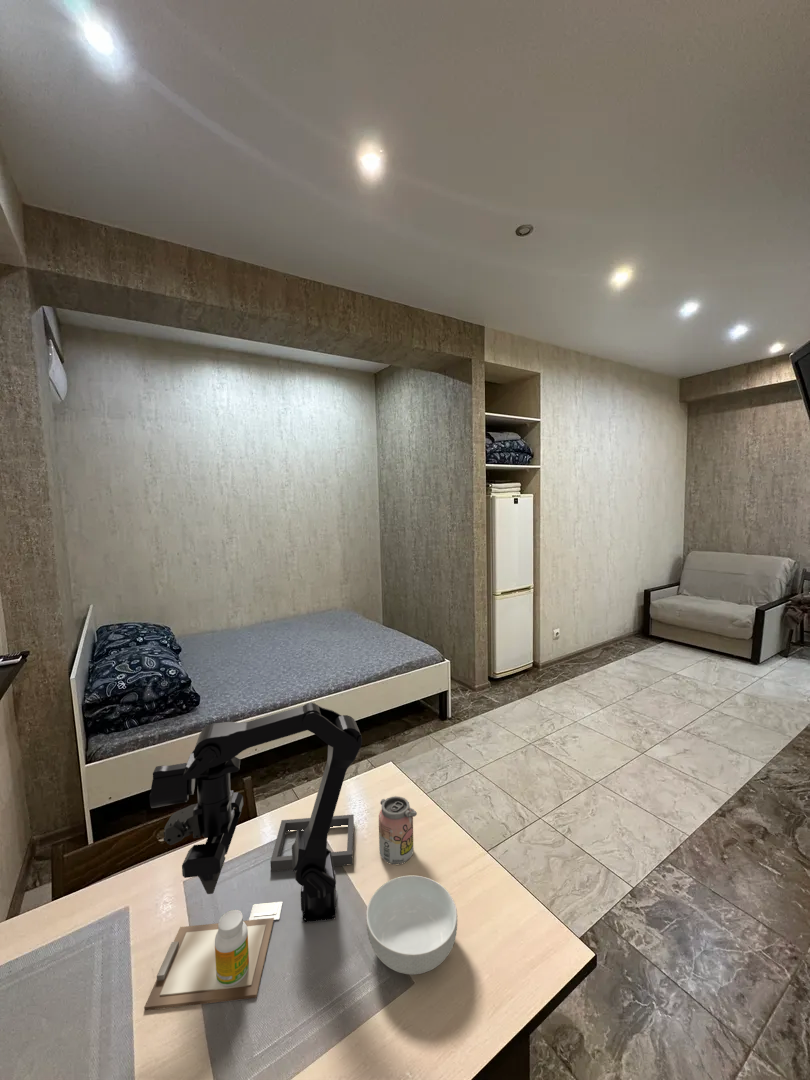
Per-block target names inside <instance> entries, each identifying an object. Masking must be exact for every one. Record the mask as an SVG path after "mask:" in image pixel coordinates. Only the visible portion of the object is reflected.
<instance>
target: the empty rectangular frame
mask: <svg viewBox="0 0 810 1080" xmlns="http://www.w3.org/2000/svg"><path fill="white" fill-rule="evenodd" d="M354 817H355V815H354V813H352V814H344V815H343V814H342V815H333V818H332V822H331V825H330V827H333V826H341V825H348V827H347V840H346V841H347V842H346V845H347V846H346V850H342V851H341V850H340V851H331V855H332V861H333V867H341V866H348V865H347V864H352V865H353V858H352V856H353V855H354V854H353V853H354V852H353V851H354V831H353V827H354V826H355V822H354ZM310 818H311V817H304V818H293V819H290V818H289V819H282V820H281V822H280V825H279V828H278V832H277V836H276V840H275V843H274V847H273V850H272V854H271V858H270V872H271V873H272V872H274V873H275V872H284V871H293V862H292V855H282V856H281V854H282V849H283V845H284V842H285V837H286V834H285V833H287V832H286V831H288V830H289V831H290V830H302V829H303V830H305V829H306V827H307V826H308V824H309V821H310ZM354 828H355V827H354Z"/></svg>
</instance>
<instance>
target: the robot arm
mask: <svg viewBox="0 0 810 1080" xmlns="http://www.w3.org/2000/svg"><path fill="white" fill-rule="evenodd" d="M357 724H358V723H357V722H356V720H355V718H353V717H352V716H351V715H348V714H347V715H346V714H345V715H344V714H343V715H342V714H339V713H338V712H336V711H334V710H332V709H329V708H325V707H322V706H320V705H318V704H316V703H314V702H308V703H305V704H304V705H302V706H298V707H295V708H291V709H288V710H284V711H281V712H277V713H274V714H271V715H267V716H263V717H260V718H256V719H252V720H249V721H246V722H244V721H243V722H237V721H223V722H217V723H216V722H215V723H210V724H209V725H206V726H205V727H203V729H202V730H201V732H200V733H199V735H198V737H197V739H196V740H197V741H196V744H195V746H194V748H193V750H192V752H190V755H189V757H188V759H187V762H183V763H176V764H172V765H171V764H170V765H159V766H157V765H156V766H155V768H154V770H153V772H152V780H151V787H150V788H151V789H150V794H149V797H148V799H149V806H150V808H151V809H155V808H160V807H161V808H162V807H165V806H166V807H167V806H171V805H176V804H182V803H183V804H184V803H187V802H188V801H189V798H190V797H189V796H191V795H194V794H195V793H194V792H195V790H196V789H195V787H196V786H197V787H196V788H197V803H194V804H191V805H188V806H186V807H184V808H181V809H179V810H177V811H175V812H174V813H173V814H171V816H170V817H169V819H168V821H167V822H166V824H165V826H164V828H163V829H164V831H163V841H164V842H166V843H167V845H169V846H172V845H175V844H176V843H177V844H178V843H179V842H181V841H183V840H184V838H186V837H189V836H191V835H192V839H199V838H201V836H202V837H203V838H205V839H206V842H205V843H200V844H194V845H192V846H191V847H190V848H189V849H188V852H187V853H186V856H185V858H184V860H183V862H182V865H181V872H182V873H181V875H182V877H183V878H186V879H187V878H188V879H189V878H196V877H198V879H199V880H200V882H201V884H202V886H203V888H204V890H205V893H206V894H207V895H211V894H214V892H215V889H216V887H217V883H218V881H219V879H220V875H221V873H222V869H223V867H224V864H225V861H226V856H225V855H227V854H228V851H229V848H230V845H231V844H232V843H231V842H232V839H233V836H234V833H235V831H236V828H237V825H238V823H239V819H240V816H241V814H242V809H243V806H244V795H243V794H241V793H240V792H239V791H238V792H234V790H231V774H232V773H237V772H239V771H240V765H241V758H238V757H237V756H238V755H239V754H241V753H242V752H244V751H246V750H248V749H250V748H253V747H256V746H259V745H264V744H266V743H269V742H273V741H277V740H279V739H282V738H286V737H290V736H293V735H296V734H299V733H302V732H306V731H308V732H309V733H312V734H314V735H315V736H317V737H318V738H319V739H320V740H322V741H323V742H324V743H325V744H326V745H327V759H326V764H325V767H324V770H323V774H322V776H321V781H320V785H319V787H318V792H317V794H316V798H315V800H314V805H313V808H312V812H311V816H310V817H309V818H310V821H309V824H308V826H307V827H306V829H305V830H304V831H301V830H297V832H296V835H295V839H294V842H293V844H292V845H291V856H292V862H293V870H292V872H294V878H295V881H296V882H297V884H298V885H300V886H301V887H300V888H301V889H300V911H301V912H303V913H302V923H310V922H311V923H312V922H322V921H331V920H332V921H333V920H334V919H336V916H337V915H336V913H337V904H338V903H337V902H338V901H337V900H338V890H337V880H336V879H337V878H336V870H335V869H334V868H335V866H333V861H332V855H331V852H332V851H331V850H330V849H329V848H327V847H328V837H329V836H328V835H329V832H330V830H331V829H330V825H331V822H332V818H333V816H335V811H336V807H337V805H338V801H339V798H340V793H341V791H342V788H343V787H342V786H343V783H344V780H345V777H346V773H347V770H348V769H349V767H351V766H352V764H353V763H354V761H356V758H357V756H358V754H359V752H360V750H361V747H362V745H363V738H362V734H361V732H360V729H359V727H358V725H357Z"/></svg>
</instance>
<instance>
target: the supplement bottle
mask: <svg viewBox="0 0 810 1080" xmlns="http://www.w3.org/2000/svg"><path fill="white" fill-rule="evenodd" d="M243 917H244V916H243V913H242V911H240V910H238V909H231V910H229V911H226V912H225V913H224V914H222V915H221V917H220V918H219V920H218V932H217V934H216V937H215V959H216V978H217V981H218V983H219V984H220V985H222V986H225V987H229V986H233V985H235V984H237V983H238V982H240V981H241V980H242V979H243V978H244V976H245V975H246V973H247V971H248V968H249V951H248V929H247V925H246V924H245V922H243V921H244V918H243Z"/></svg>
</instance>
